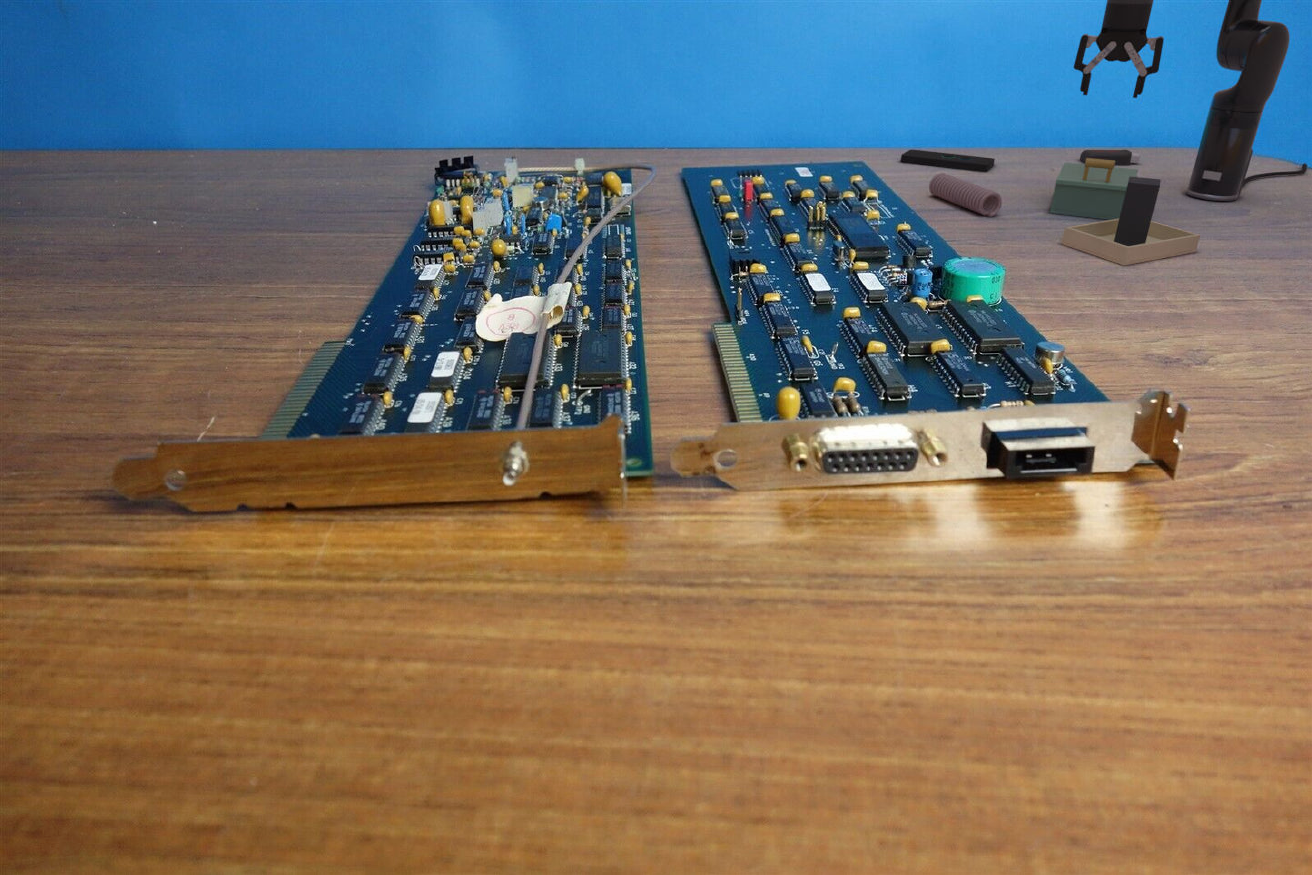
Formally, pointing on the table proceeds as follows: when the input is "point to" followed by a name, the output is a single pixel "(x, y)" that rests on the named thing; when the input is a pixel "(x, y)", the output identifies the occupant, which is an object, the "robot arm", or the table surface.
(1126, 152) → the usb drive
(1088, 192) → the chest
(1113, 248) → the tray
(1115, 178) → the lid
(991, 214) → the coil
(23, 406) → the table surface
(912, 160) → the smart home device
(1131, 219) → the block
